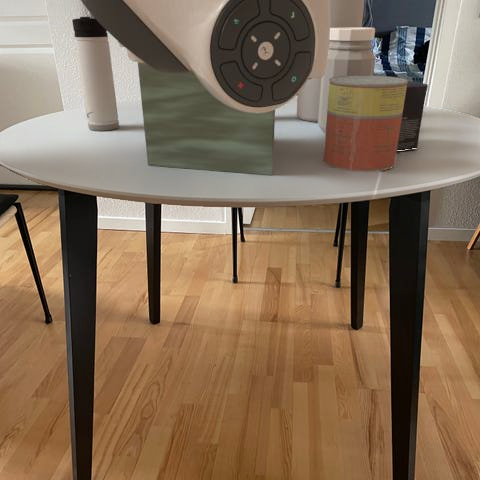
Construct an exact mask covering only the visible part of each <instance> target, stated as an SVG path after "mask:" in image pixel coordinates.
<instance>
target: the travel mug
mask: <svg viewBox="0 0 480 480" xmlns="http://www.w3.org/2000/svg"><path fill="white" fill-rule="evenodd" d="M71 23H72V28H73V32H74V41H75V50H76V55H77V56H76V57H77V60H78V69H79V74H80V82H81V88H82V94H83V100H84V107H85V113H86V121H87V126H88V129H89V130H90V131H94V130H95V132H106V131H107V132H108V131H113V130H115V131H116V130H117V129H119V128H120V121H119V113H118V105H117V98H116V89H115V82H114V73H113V66H112V58H111V50H110V49H111V48H110V41H109V36H108V31H107V30H106V29H105V28H104V27H103V26H102V25H101V24H100V23H99V22H98V21H97V20H96V19H95V18H94V17H93V18H91V16H79V18H73V19H72V21H71Z"/></svg>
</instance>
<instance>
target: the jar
mask: <svg viewBox="0 0 480 480" xmlns="http://www.w3.org/2000/svg"><path fill="white" fill-rule="evenodd" d="M375 33H376V28H375V27H363V26H362V27H347V28H330V45H329V50H328V58H327V64H326V69H325V74H324V76H322V77H321V90H320V104H319V118H318V122H317V125H318V127H319V129H320V130H321V132H322V133H325V134H326V122H327V110H328V98H329V85H330V82H329V79H330V78H333V77H340V76H375V75H374V74H375V67H376V60H377V59H376V56H375V54H374V52H373V51H372V49H373V48H374V45H373V44H372V41H374V40H375V36H376V35H375Z"/></svg>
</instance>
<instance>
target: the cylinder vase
mask: <svg viewBox="0 0 480 480" xmlns="http://www.w3.org/2000/svg"><path fill="white" fill-rule="evenodd" d="M365 2H366V1H365V0H330V28H347V27H363V21H364V20H363V19H364V9H365ZM329 45H330V40H329ZM320 90H321V77H320V78H312V79H309V80H308V81H307V83H306V84H305V86H304V87H303V89H302V90H301V91H300V92H299V93H298V94H297V100H296V116H297V118H298V119H299V120H302V121H305V122H311V123H318V118H319V104H320Z"/></svg>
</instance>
